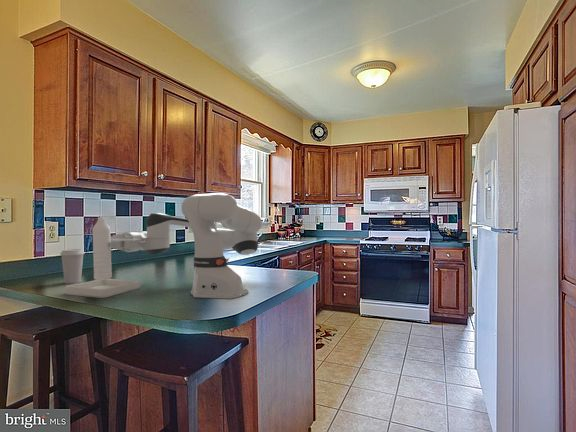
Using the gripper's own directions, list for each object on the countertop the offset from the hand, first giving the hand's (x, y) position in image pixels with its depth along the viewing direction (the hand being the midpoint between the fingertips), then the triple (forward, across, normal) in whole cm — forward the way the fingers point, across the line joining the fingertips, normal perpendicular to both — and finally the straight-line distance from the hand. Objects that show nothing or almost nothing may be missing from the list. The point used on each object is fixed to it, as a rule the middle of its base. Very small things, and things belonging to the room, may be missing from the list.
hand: (102, 244), depth 141 cm
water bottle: (-1, 0, -14) cm, 14 cm away
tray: (0, 0, -19) cm, 19 cm away
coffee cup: (-9, +30, -19) cm, 36 cm away
